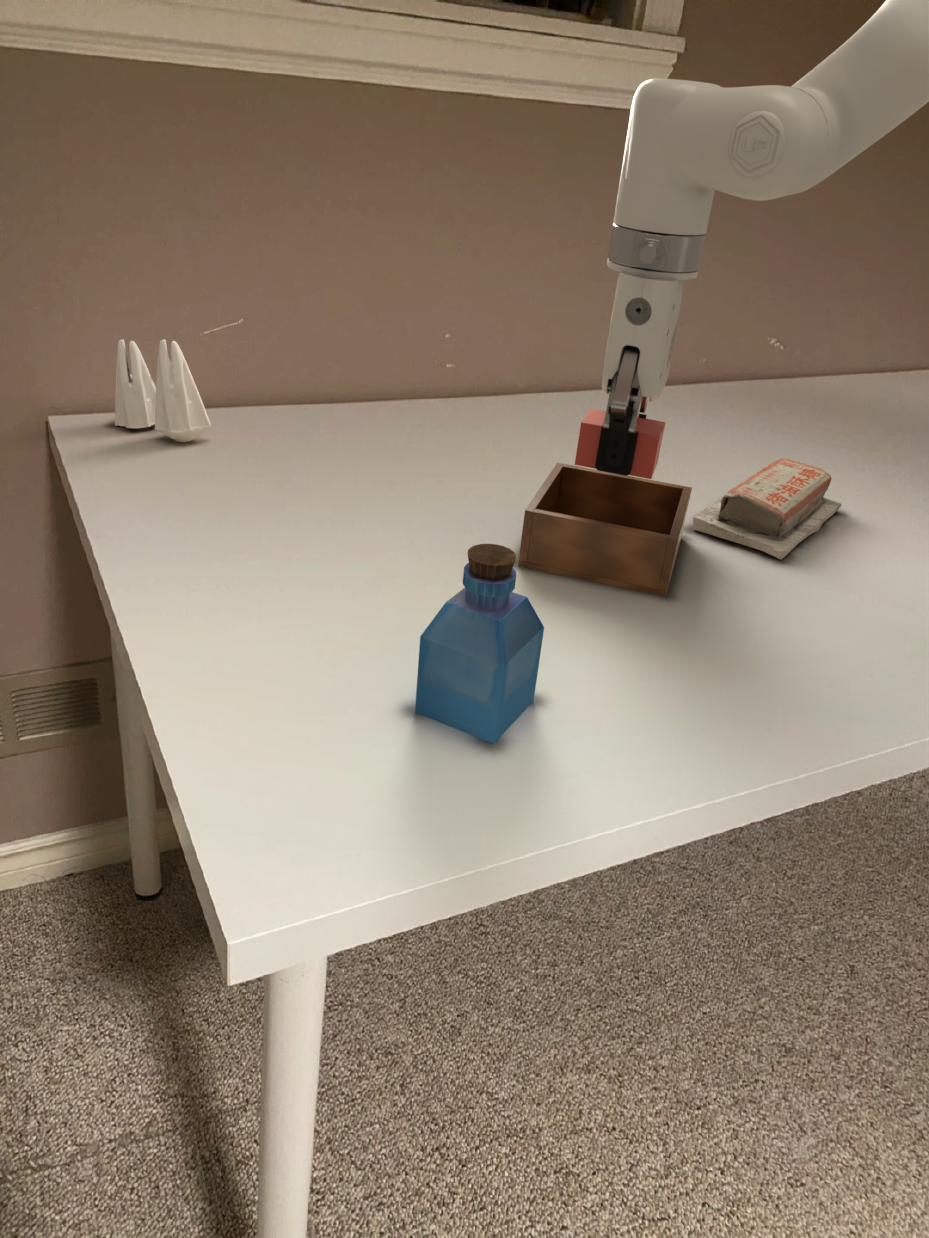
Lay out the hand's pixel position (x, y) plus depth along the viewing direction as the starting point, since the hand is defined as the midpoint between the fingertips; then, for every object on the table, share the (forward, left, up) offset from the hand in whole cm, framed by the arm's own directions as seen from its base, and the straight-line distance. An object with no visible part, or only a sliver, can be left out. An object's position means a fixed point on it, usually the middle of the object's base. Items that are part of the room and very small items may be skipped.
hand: (617, 460), depth 87 cm
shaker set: (+53, -8, -9) cm, 54 cm away
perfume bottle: (+4, +30, -9) cm, 32 cm away
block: (0, 0, 0) cm, 0 cm away
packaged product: (-15, -16, -9) cm, 24 cm away
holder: (0, 0, -9) cm, 9 cm away
